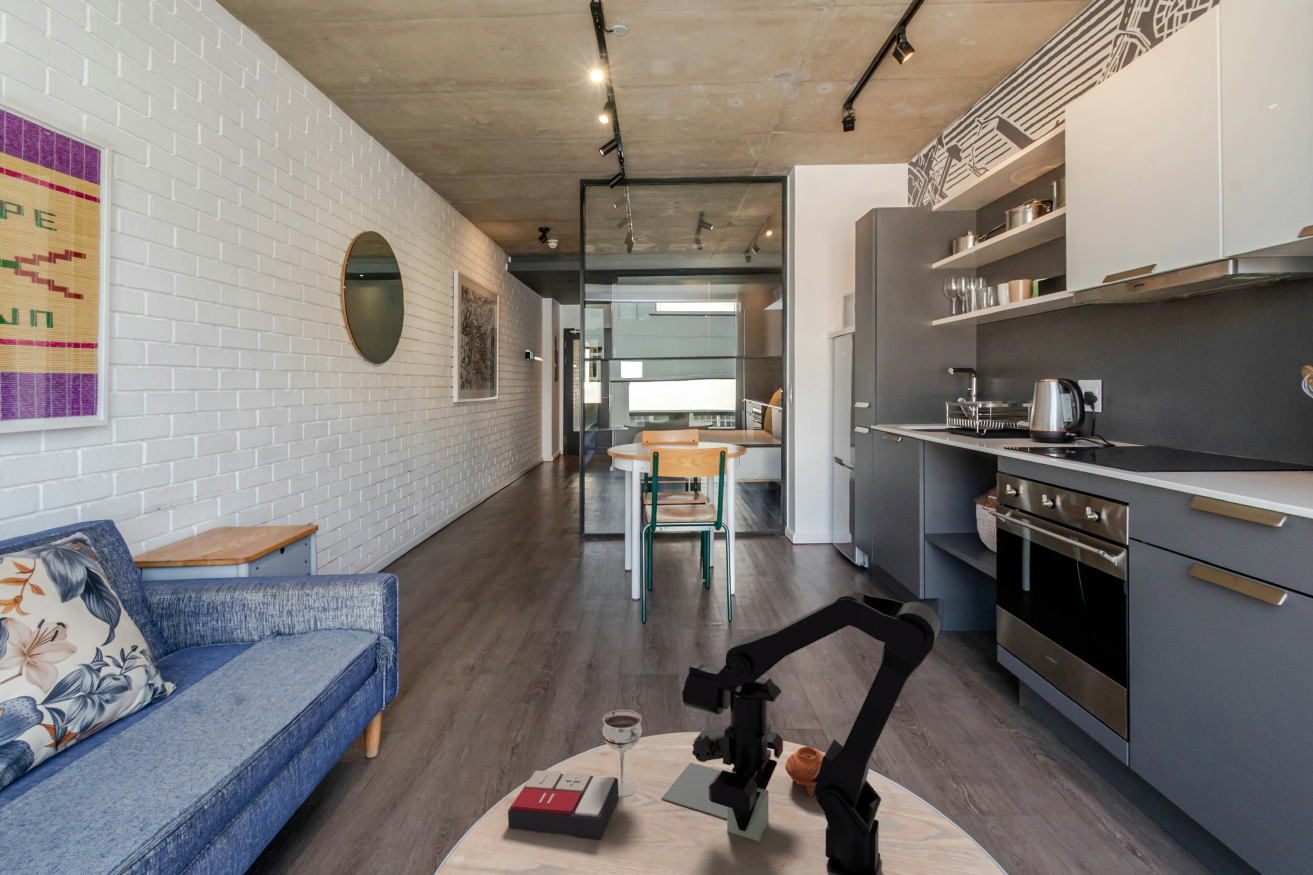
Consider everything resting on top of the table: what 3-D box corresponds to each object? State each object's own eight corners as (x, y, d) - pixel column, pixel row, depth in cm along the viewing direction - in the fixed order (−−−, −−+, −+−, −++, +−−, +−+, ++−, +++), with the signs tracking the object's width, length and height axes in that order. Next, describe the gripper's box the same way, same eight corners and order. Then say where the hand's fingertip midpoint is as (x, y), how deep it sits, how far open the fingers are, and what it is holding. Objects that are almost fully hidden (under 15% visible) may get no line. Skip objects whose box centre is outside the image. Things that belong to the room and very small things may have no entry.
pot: (841, 799, 101) (831, 760, 101) (794, 807, 102) (785, 769, 102) (831, 770, 109) (823, 734, 109) (788, 778, 110) (779, 742, 110)
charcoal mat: (753, 780, 107) (753, 779, 107) (729, 820, 96) (729, 819, 96) (690, 763, 113) (690, 762, 113) (661, 799, 102) (661, 797, 102)
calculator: (534, 767, 105) (618, 772, 102) (535, 791, 105) (619, 798, 103) (506, 806, 95) (599, 813, 92) (507, 833, 95) (601, 842, 92)
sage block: (768, 821, 96) (768, 790, 96) (758, 841, 92) (758, 808, 92) (738, 812, 98) (738, 781, 98) (727, 831, 94) (727, 798, 94)
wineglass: (641, 800, 102) (641, 728, 101) (600, 799, 102) (600, 728, 101) (642, 776, 108) (642, 709, 108) (604, 776, 108) (604, 709, 108)
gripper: (721, 687, 107) (720, 775, 107) (676, 735, 90) (675, 840, 90) (784, 700, 102) (783, 792, 102) (748, 754, 85) (748, 864, 85)
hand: (748, 819), depth 95 cm, fingers closed on sage block, 5 cm apart
